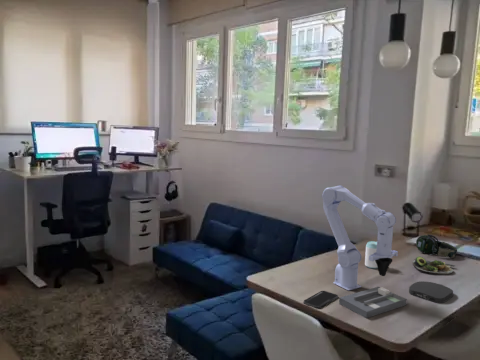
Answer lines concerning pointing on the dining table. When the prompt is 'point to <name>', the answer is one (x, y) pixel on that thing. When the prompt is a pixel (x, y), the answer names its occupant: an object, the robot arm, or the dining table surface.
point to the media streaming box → (431, 291)
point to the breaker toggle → (383, 291)
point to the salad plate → (431, 266)
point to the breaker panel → (372, 302)
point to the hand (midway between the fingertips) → (382, 275)
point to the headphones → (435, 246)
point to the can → (370, 250)
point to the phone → (320, 299)
